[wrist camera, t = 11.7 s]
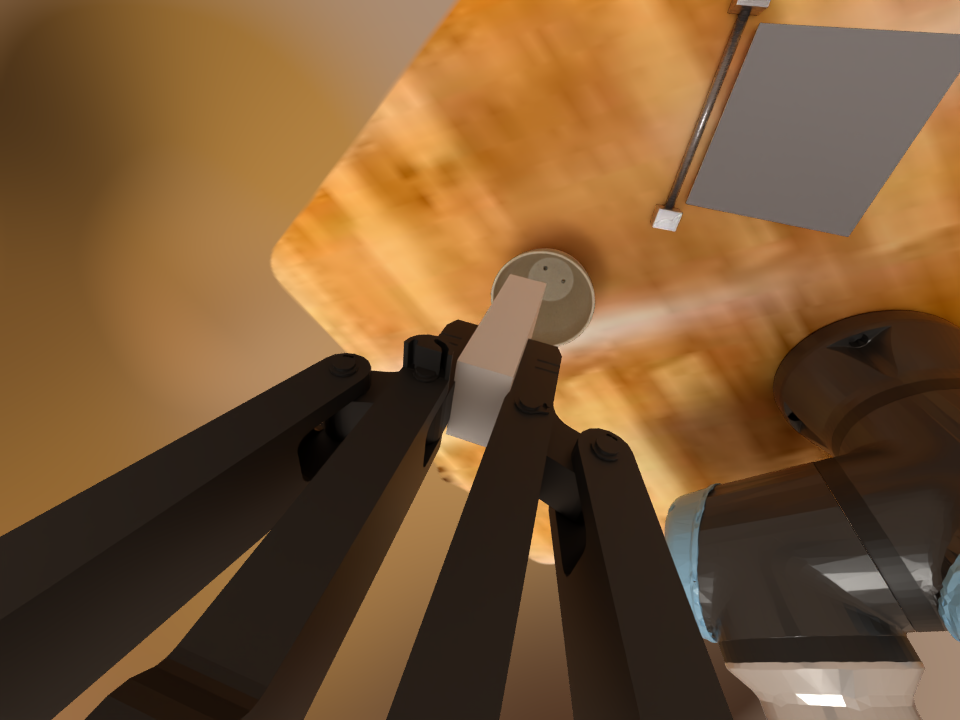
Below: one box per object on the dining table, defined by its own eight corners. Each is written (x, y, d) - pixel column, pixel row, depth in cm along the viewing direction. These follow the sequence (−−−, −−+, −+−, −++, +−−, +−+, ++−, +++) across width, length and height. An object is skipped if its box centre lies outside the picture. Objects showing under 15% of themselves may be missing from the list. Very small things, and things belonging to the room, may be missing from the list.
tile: (760, 22, 26) (757, 27, 27) (685, 203, 33) (686, 201, 34) (984, 35, 22) (970, 40, 23) (848, 236, 29) (842, 233, 30)
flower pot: (563, 211, 38) (554, 228, 32) (615, 290, 40) (616, 318, 34) (489, 267, 43) (470, 289, 37) (539, 333, 45) (529, 363, 40)
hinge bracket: (768, -15, 26) (781, -26, 24) (671, 225, 36) (675, 231, 34) (738, -18, 27) (748, -29, 25) (649, 221, 36) (652, 227, 34)
